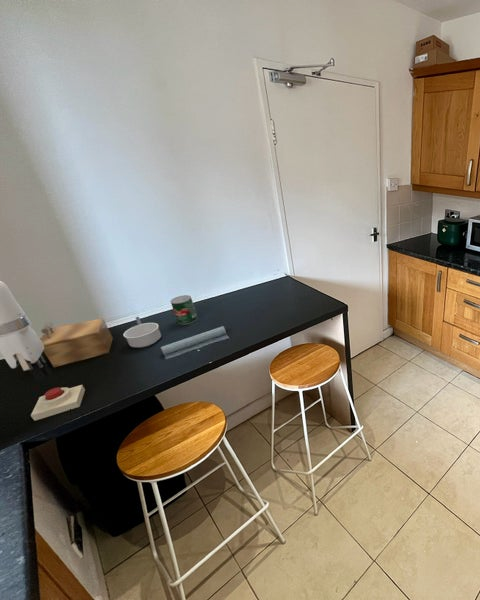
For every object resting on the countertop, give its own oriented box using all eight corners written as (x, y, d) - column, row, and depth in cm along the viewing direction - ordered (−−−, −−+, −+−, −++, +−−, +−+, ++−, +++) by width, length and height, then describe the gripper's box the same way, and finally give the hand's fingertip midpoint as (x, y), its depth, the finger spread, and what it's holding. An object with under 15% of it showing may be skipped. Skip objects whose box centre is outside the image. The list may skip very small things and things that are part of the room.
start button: (45, 401, 94) (42, 397, 94) (49, 394, 97) (46, 390, 96) (62, 397, 96) (59, 392, 95) (65, 390, 99) (62, 385, 98)
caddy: (53, 367, 114) (41, 347, 110) (62, 350, 124) (51, 331, 120) (108, 353, 122) (99, 334, 118) (112, 337, 131) (103, 319, 127)
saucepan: (157, 323, 142) (153, 312, 139) (165, 341, 129) (160, 330, 126) (125, 332, 135) (120, 321, 132) (130, 353, 122) (124, 341, 119)
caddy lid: (37, 347, 110) (30, 335, 107) (47, 331, 119) (41, 320, 117) (98, 334, 118) (93, 323, 116) (103, 319, 127) (99, 309, 125)
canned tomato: (177, 326, 139) (169, 304, 134) (178, 318, 145) (171, 297, 140) (198, 322, 143) (190, 300, 138) (198, 314, 149) (191, 293, 144)
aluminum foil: (224, 331, 136) (222, 324, 134) (229, 337, 131) (227, 331, 130) (162, 353, 122) (159, 345, 120) (165, 360, 118) (162, 353, 116)
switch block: (34, 420, 92) (27, 411, 91) (43, 402, 99) (36, 392, 97) (79, 406, 97) (73, 397, 96) (85, 389, 104) (79, 380, 102)
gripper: (-1, 317, 89) (35, 368, 97) (-25, 342, 78) (18, 397, 86) (36, 310, 92) (67, 359, 101) (18, 333, 81) (55, 386, 90)
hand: (44, 377), depth 93 cm, fingers closed
